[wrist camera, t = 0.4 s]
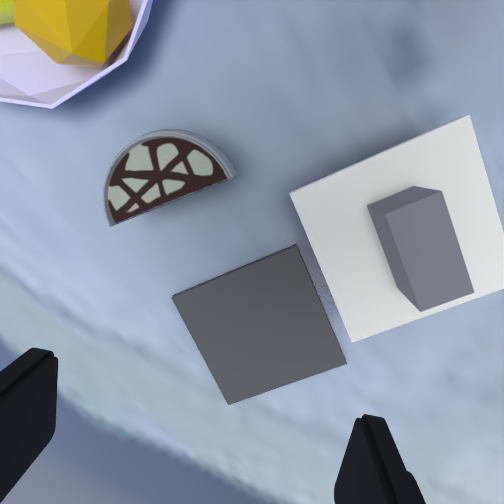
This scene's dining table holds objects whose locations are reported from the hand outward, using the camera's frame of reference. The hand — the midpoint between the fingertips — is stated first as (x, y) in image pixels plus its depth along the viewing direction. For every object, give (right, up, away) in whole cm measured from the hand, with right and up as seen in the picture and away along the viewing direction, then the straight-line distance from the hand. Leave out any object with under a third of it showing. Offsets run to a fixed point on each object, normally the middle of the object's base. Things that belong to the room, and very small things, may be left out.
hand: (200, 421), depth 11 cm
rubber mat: (+3, -4, +32) cm, 32 cm away
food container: (-6, +15, +28) cm, 32 cm away
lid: (+15, +7, +20) cm, 26 cm away
